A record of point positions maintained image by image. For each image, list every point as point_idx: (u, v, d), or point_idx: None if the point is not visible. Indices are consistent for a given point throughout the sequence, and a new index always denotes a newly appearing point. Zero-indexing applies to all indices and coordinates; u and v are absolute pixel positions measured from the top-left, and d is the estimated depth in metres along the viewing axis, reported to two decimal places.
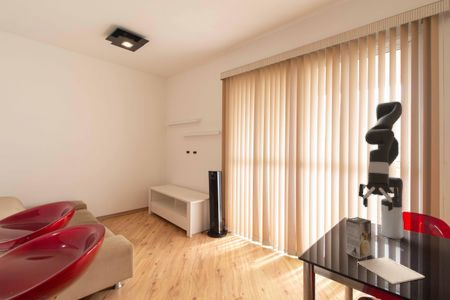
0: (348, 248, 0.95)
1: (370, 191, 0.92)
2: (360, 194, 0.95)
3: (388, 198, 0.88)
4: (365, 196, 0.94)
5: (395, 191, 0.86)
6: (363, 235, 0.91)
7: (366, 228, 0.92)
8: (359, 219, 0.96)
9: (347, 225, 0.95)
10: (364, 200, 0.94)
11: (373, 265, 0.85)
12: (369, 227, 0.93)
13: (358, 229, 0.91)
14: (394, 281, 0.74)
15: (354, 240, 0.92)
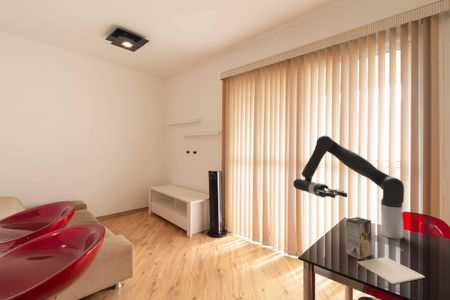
0: (348, 248, 0.95)
1: None
2: None
3: (327, 196, 1.09)
4: (339, 195, 1.11)
5: None
6: (363, 235, 0.91)
7: (366, 228, 0.92)
8: (359, 219, 0.96)
9: (347, 225, 0.95)
10: None
11: (373, 265, 0.85)
12: (369, 227, 0.93)
13: (358, 229, 0.91)
14: (394, 281, 0.74)
15: (354, 240, 0.92)
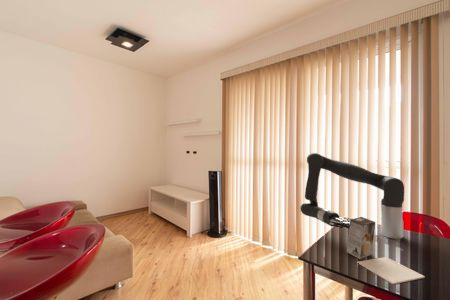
0: (349, 247, 0.94)
1: None
2: None
3: None
4: None
5: None
6: (366, 237, 0.90)
7: (370, 229, 0.91)
8: (363, 220, 0.94)
9: (350, 225, 0.94)
10: None
11: (373, 265, 0.85)
12: (373, 228, 0.92)
13: (362, 230, 0.89)
14: (394, 281, 0.74)
15: (356, 240, 0.92)
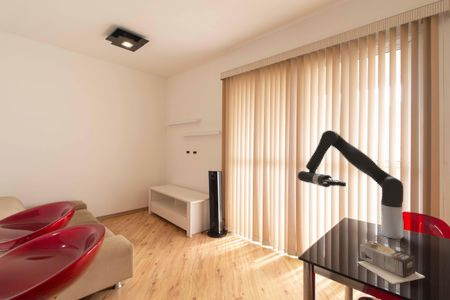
0: (366, 249, 0.87)
1: (334, 185, 1.18)
2: None
3: (335, 185, 1.15)
4: None
5: None
6: None
7: None
8: (411, 266, 0.78)
9: (395, 260, 0.78)
10: None
11: (373, 265, 0.85)
12: None
13: (395, 273, 0.78)
14: (394, 281, 0.74)
15: (378, 260, 0.83)
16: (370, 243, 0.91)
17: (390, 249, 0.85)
